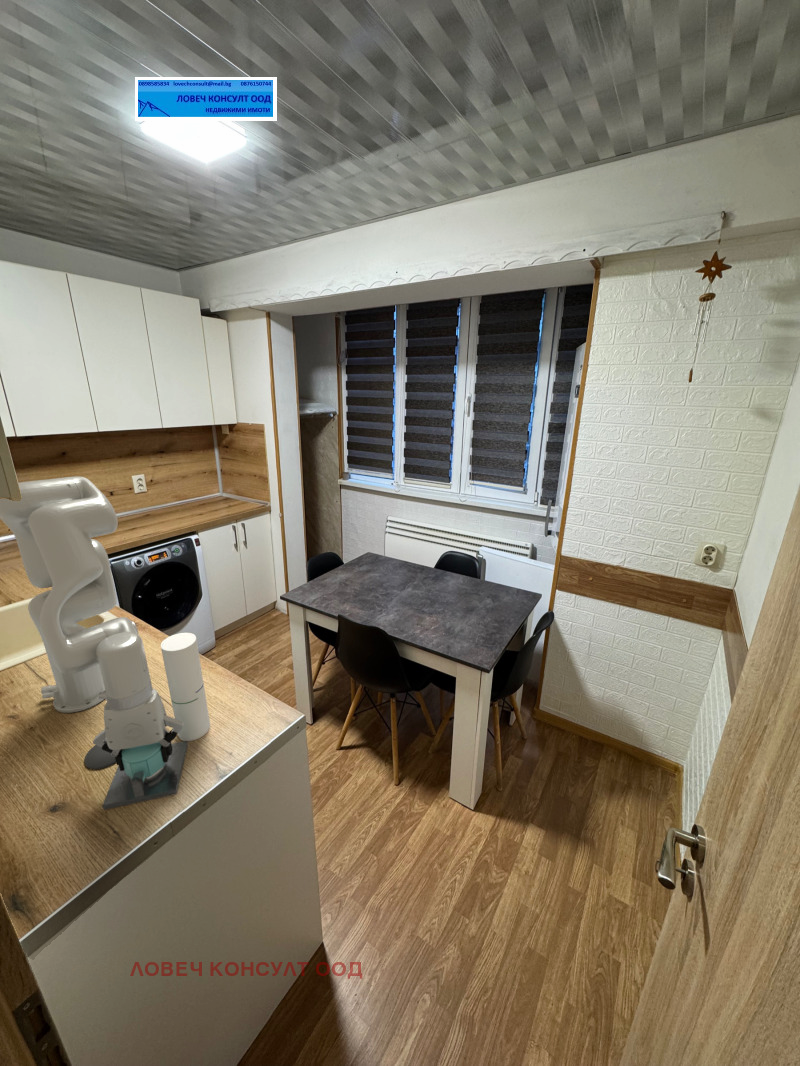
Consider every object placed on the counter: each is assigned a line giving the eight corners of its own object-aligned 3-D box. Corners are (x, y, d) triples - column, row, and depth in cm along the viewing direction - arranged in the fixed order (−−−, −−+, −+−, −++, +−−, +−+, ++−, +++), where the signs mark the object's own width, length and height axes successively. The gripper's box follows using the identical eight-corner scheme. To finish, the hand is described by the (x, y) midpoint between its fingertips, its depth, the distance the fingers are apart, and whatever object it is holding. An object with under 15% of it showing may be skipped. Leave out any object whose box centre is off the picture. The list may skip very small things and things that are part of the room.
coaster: (78, 773, 90) (77, 771, 89) (93, 742, 97) (93, 740, 97) (122, 764, 92) (122, 762, 92) (134, 735, 100) (133, 733, 99)
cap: (160, 779, 85) (156, 760, 84) (119, 787, 83) (114, 768, 82) (171, 742, 94) (167, 724, 92) (134, 749, 92) (129, 731, 90)
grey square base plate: (176, 794, 86) (170, 768, 83) (103, 809, 82) (95, 783, 80) (188, 744, 97) (183, 720, 95) (124, 756, 94) (118, 732, 92)
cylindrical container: (216, 722, 104) (203, 636, 96) (194, 744, 97) (178, 653, 89) (193, 715, 106) (179, 630, 98) (171, 736, 100) (152, 646, 91)
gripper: (70, 714, 77) (91, 786, 83) (174, 698, 82) (187, 766, 87) (87, 688, 84) (105, 755, 90) (182, 674, 88) (194, 739, 94)
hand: (146, 760), depth 88 cm, fingers closed on cap, 7 cm apart
